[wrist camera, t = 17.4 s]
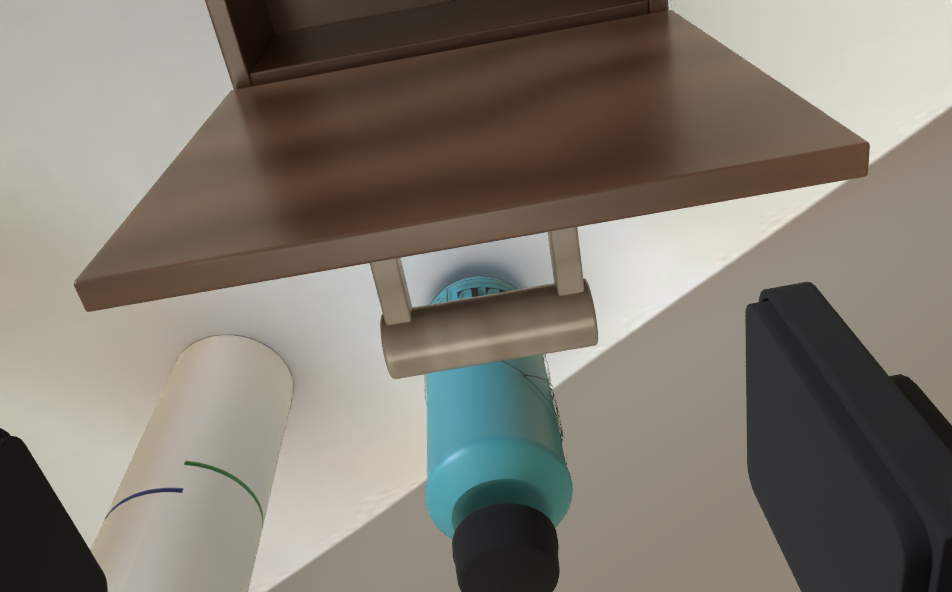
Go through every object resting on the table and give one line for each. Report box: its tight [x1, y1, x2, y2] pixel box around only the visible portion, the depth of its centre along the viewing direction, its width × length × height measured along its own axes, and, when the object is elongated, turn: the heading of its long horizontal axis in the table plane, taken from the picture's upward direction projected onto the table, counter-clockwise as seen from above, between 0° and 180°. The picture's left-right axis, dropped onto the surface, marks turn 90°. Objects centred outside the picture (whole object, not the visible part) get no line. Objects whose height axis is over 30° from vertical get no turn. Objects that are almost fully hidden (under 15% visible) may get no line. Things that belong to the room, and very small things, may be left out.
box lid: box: [74, 10, 870, 379], centre depth 26 cm, size 16×18×5 cm
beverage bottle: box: [425, 276, 573, 592], centre depth 39 cm, size 6×7×20 cm
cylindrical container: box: [91, 335, 293, 592], centre depth 39 cm, size 7×7×25 cm
